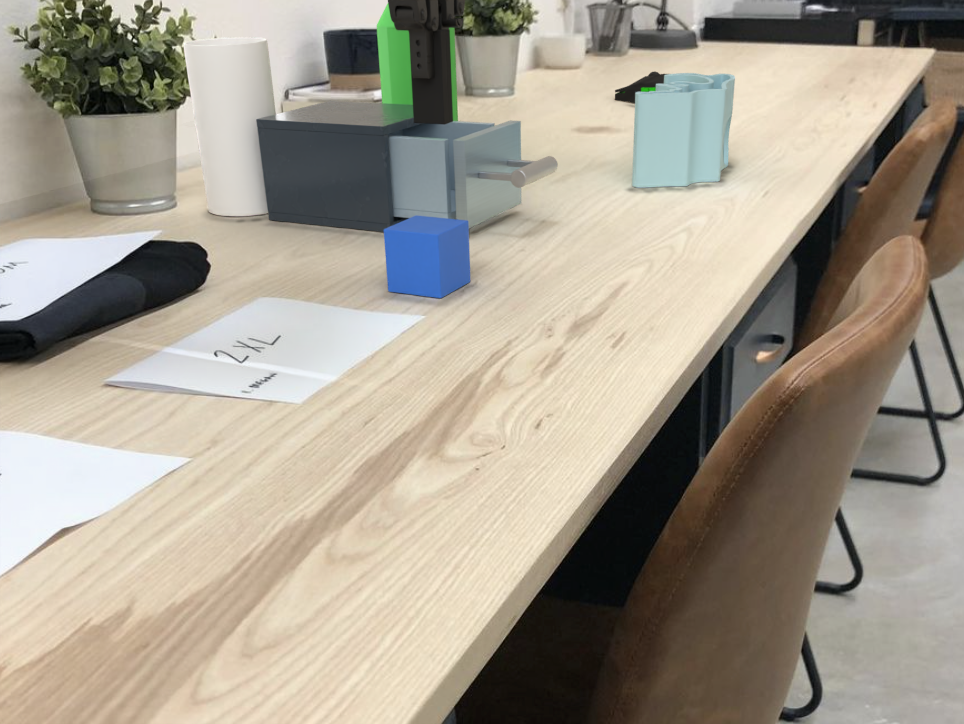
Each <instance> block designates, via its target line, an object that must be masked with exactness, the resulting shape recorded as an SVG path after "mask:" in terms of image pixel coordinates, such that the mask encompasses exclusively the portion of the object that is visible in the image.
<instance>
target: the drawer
mask: <svg viewBox="0 0 964 724" xmlns="http://www.w3.org/2000/svg"><path fill="white" fill-rule="evenodd" d="M521 124H522V123H521V120H513V119H512V120H511V119H510V120H507V121H504V122H501V123H499V124H496V125H495V122H484V121H483V122H482V121H481V122H480V121H464V120H458V121H453V122H450V123H448V124H445V125H443V124H424V123H422V124H419V125H416V126H413V127H410V128H406V129H403V130H400V131H397V132H393V133H390V134H387V135H388V146H389V160H390V174H391V189H392V203H393V217H403V218H411V217H414V216H426V217H437V218H447V219H458V220H467V221H468V223H469V229H472V228H473V227H475V226H478V225H479V224H482V223H484V222H485V221H488V220H490V219H492V218H494V217H496V216H499V215H500V214H503V213H504V212H505V213H506V212H507V211H508V210H511V209H513V208H515V207H517V206H519V205H522V188H524V187H526V186H528V185H530V184H532V183H534V182H536V181H540V180H541V179H543V178H545V177H548V176H550V175H553V174H554V173H556V171H557V169H558V161H557V159H556V158H555V157H554V156H552V155H548V156H545V157H542V158H540V159H537V160H526V159H522V139H521V138H522V129H521V127H522V125H521Z"/></svg>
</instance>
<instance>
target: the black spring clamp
mask: <svg viewBox="0 0 964 724" xmlns="http://www.w3.org/2000/svg"><path fill="white" fill-rule="evenodd" d="M667 74H668V73H660V72H658V71H651V72H650V73H649V74H648V75H645V76H643V77H641V78H639V79H638V80H636V81H634V82H632V83H631V84H629V85H627V86H624V87H620V88H618V89H614V100H615V101H620V102H626V103H632V104H635V93H636V92H649V91H656V84H664V75H667Z"/></svg>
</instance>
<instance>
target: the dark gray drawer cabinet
mask: <svg viewBox="0 0 964 724" xmlns="http://www.w3.org/2000/svg"><path fill="white" fill-rule="evenodd" d="M256 122H257V129H258V137H259V145H260V153H261V161H262V169H263V177H264V185H265V193H266V201H267V209H268V213H267V216H268V220H269V221H274V222H275V221H276V222H284V223H285V222H286V223H293V224H294V223H295V224H302V225H303V224H305V225H312V226H324V227H333V228H341V229H342V228H343V229H352V230H361V231H369V232H370V231H371V232H381V233H384V229H386V228H388V227H390V226H393V225H395V224H397V223H400V222H402V221H404V220H407V219H409V218H403V217H393V203H392V189H391V174H390V160H389V146H388V135H387V134H390V133H393V132H397V131H400V130H403V129H406V128H410V127H413V126H416V125H419V124H422V123H414V116H413V105H407V104H387V103H382V102H366V101H365V102H364V101H363V102H362V101H345V100H344V101H343V100H342V101H341V100H328V101H324V102H320V103H315V104H311V105H308V106H307V105H306V106H304V107H299V108H296V109H291V110H288V111H284V112H283V111H282V112H280V113H276V114H275V115H271V116H267V117H263V118H259V119H256Z"/></svg>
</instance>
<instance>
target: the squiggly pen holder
mask: <svg viewBox="0 0 964 724" xmlns="http://www.w3.org/2000/svg"><path fill="white" fill-rule="evenodd" d="M666 74H667V75H664V84H656V91H649V92H636V93H635V103H634V116H633V117H634V121H633V145H632V146H633V147H632V173H631V186H632V187H633V188H641V189H644V188H661V187H664V188H665V187H688V186H690V185H692V184H695V183H712V182H713V183H714V182H715V183H716V182H720V181H721V175H722V174H721V173H722V171H723V170H724V169H726V168H727V167H728V166H729V153H730V152H729V149H730V148H729V147H730V146H729V143H730V142H729V141H730V139H729V138H730V129H731V124H732V117H733V109H734V95H735V84H736V76H735V75H734V74H731V73H715V74H702V73H697V72H676V73H666Z"/></svg>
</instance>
